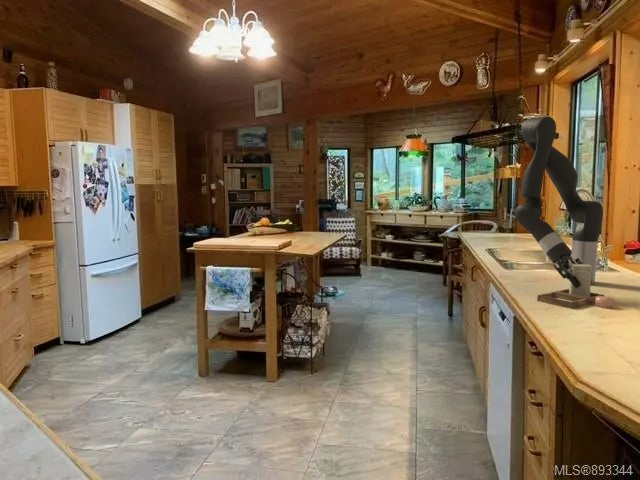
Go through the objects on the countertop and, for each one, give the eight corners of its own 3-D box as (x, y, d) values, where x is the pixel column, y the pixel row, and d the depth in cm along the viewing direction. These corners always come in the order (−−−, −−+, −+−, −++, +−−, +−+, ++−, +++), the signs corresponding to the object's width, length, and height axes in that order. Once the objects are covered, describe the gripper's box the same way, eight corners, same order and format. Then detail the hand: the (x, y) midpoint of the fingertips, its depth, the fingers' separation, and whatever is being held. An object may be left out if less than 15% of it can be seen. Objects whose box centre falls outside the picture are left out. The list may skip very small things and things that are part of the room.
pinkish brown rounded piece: (599, 304, 168) (600, 295, 167) (614, 307, 164) (615, 298, 163) (591, 306, 165) (592, 297, 165) (607, 309, 161) (608, 300, 160)
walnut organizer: (569, 293, 182) (569, 288, 182) (603, 300, 172) (604, 294, 172) (537, 300, 170) (537, 295, 170) (571, 308, 161) (572, 302, 160)
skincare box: (587, 298, 176) (590, 264, 174) (589, 300, 171) (592, 266, 170) (567, 296, 178) (570, 262, 176) (569, 299, 173) (572, 264, 172)
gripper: (551, 242, 174) (582, 281, 166) (573, 240, 182) (603, 277, 174) (536, 255, 179) (565, 293, 171) (558, 252, 187) (586, 289, 179)
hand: (584, 285), depth 173 cm, fingers closed on skincare box, 7 cm apart
